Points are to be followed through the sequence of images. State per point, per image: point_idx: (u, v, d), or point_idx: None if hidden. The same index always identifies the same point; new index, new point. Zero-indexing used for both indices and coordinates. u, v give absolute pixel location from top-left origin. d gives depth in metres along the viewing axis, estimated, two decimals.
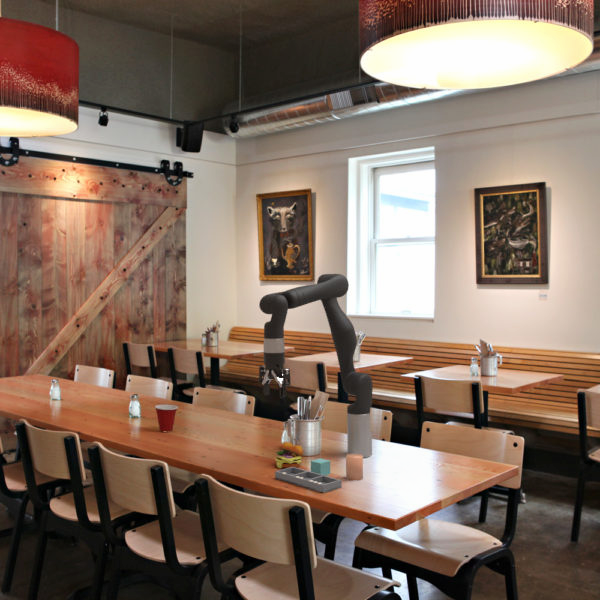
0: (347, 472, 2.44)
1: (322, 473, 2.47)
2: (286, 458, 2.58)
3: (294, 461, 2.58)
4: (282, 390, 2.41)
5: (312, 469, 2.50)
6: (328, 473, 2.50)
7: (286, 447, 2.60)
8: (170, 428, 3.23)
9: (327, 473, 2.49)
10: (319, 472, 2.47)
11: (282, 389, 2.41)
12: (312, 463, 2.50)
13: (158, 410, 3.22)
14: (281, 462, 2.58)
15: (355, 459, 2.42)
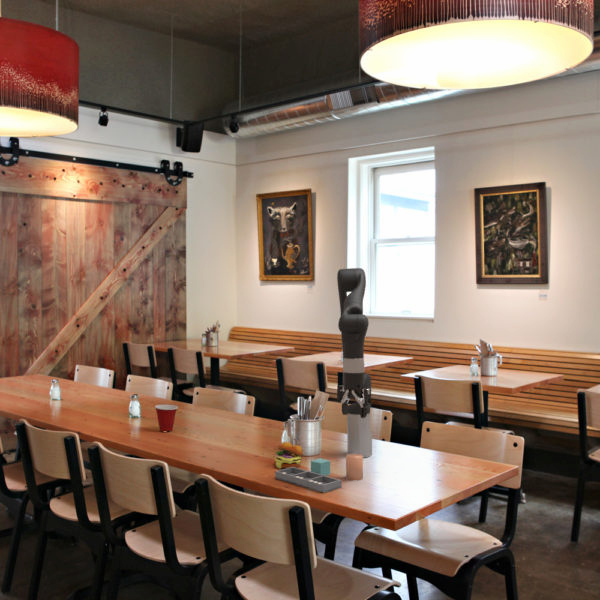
0: (347, 472, 2.44)
1: (322, 473, 2.47)
2: (285, 458, 2.57)
3: (293, 461, 2.58)
4: (363, 410, 2.40)
5: (312, 469, 2.50)
6: (328, 473, 2.50)
7: (285, 447, 2.59)
8: (170, 428, 3.23)
9: (327, 473, 2.49)
10: (319, 472, 2.47)
11: (363, 409, 2.40)
12: (312, 463, 2.50)
13: (158, 410, 3.22)
14: (280, 462, 2.58)
15: (355, 459, 2.42)
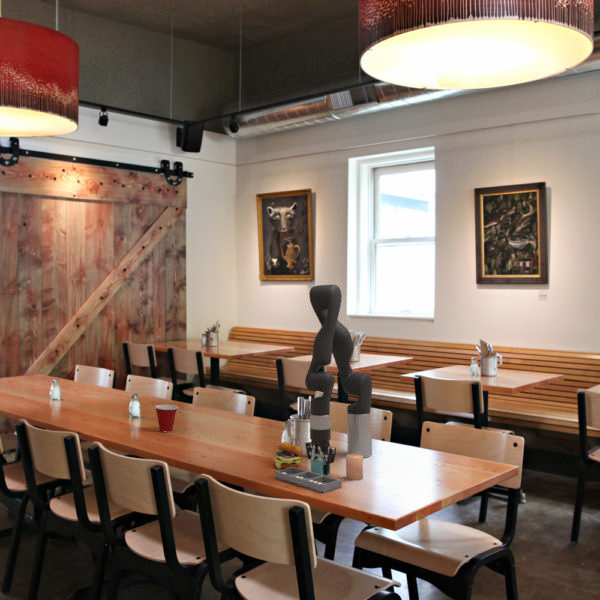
0: (347, 472, 2.44)
1: (322, 473, 2.47)
2: (285, 458, 2.57)
3: (293, 461, 2.58)
4: (325, 467, 2.47)
5: (312, 469, 2.50)
6: None
7: (285, 447, 2.59)
8: (170, 428, 3.23)
9: None
10: (319, 472, 2.47)
11: (326, 466, 2.47)
12: (312, 463, 2.50)
13: (158, 410, 3.22)
14: (280, 462, 2.58)
15: (355, 459, 2.42)
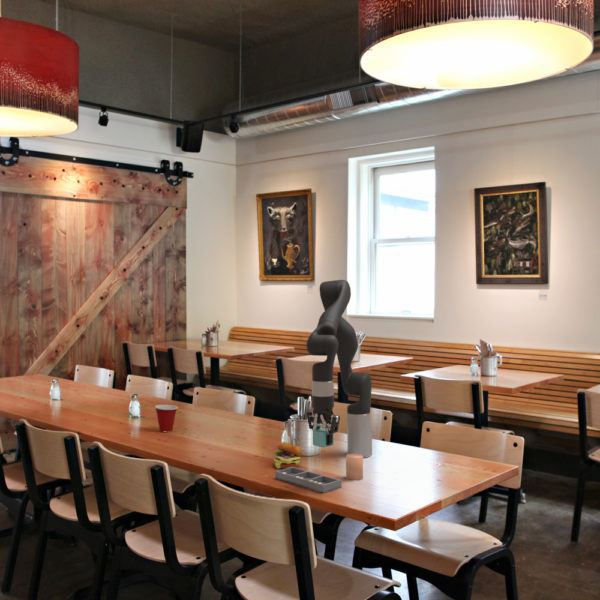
0: (347, 472, 2.44)
1: (325, 443, 2.31)
2: (285, 458, 2.57)
3: (293, 461, 2.58)
4: (328, 437, 2.31)
5: (314, 439, 2.33)
6: None
7: (285, 447, 2.59)
8: (170, 428, 3.23)
9: None
10: (321, 442, 2.30)
11: (329, 436, 2.30)
12: (314, 433, 2.33)
13: (158, 410, 3.22)
14: (280, 462, 2.57)
15: (355, 459, 2.42)
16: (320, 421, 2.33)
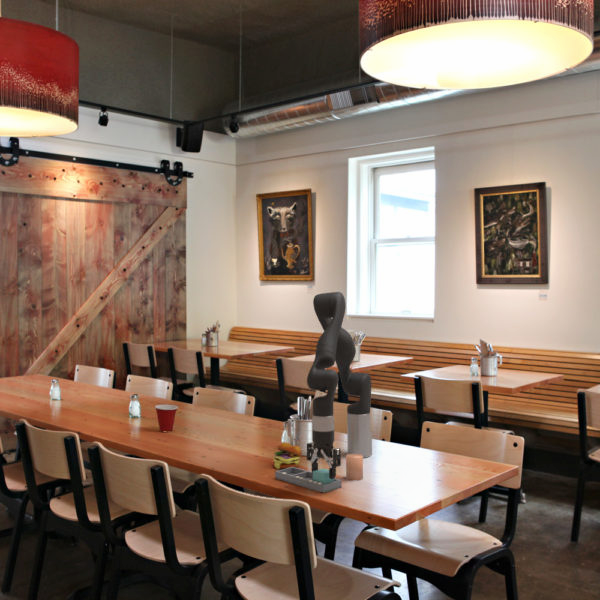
0: (347, 472, 2.44)
1: None
2: (284, 459, 2.57)
3: (292, 462, 2.58)
4: (331, 470, 2.30)
5: (314, 480, 2.33)
6: None
7: (284, 447, 2.59)
8: (170, 428, 3.23)
9: None
10: (322, 483, 2.31)
11: (332, 470, 2.30)
12: (314, 474, 2.33)
13: (158, 410, 3.22)
14: (279, 463, 2.57)
15: (355, 459, 2.42)
16: (319, 456, 2.33)
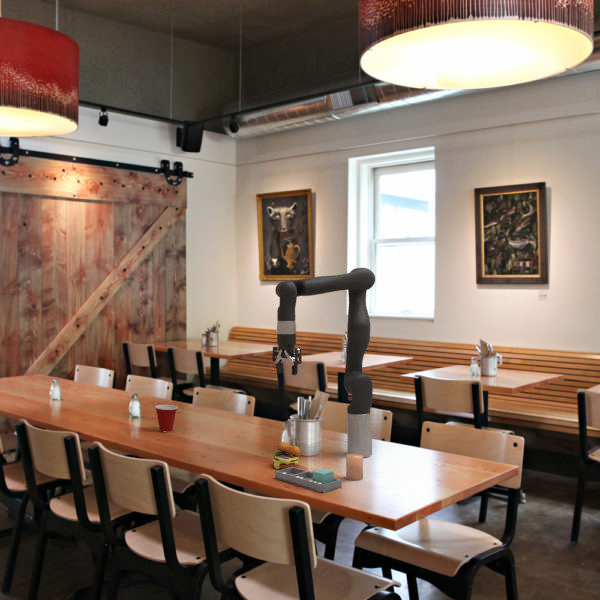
0: (347, 472, 2.44)
1: None
2: (283, 459, 2.57)
3: (291, 462, 2.57)
4: (294, 367, 2.64)
5: (314, 480, 2.33)
6: None
7: (283, 448, 2.59)
8: (170, 428, 3.23)
9: None
10: (322, 483, 2.31)
11: (294, 367, 2.64)
12: (314, 474, 2.33)
13: (158, 410, 3.22)
14: (278, 463, 2.57)
15: (355, 459, 2.42)
16: (283, 356, 2.68)
